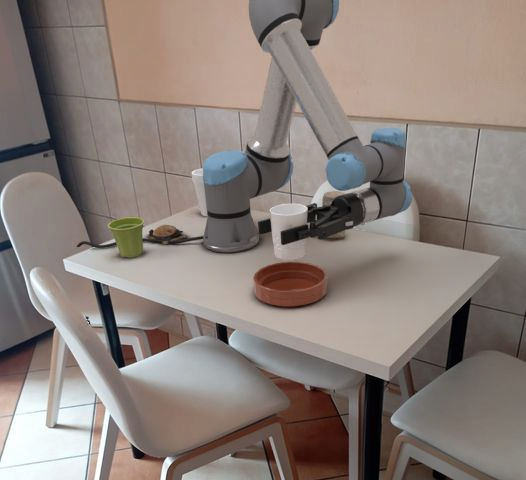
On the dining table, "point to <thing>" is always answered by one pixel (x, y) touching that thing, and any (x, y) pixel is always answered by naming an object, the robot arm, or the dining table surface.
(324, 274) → the bowl
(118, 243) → the plant pot
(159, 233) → the brown domed piece
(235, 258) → the dining table surface
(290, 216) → the white cup
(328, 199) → the carving
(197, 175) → the foam cup
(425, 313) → the dining table surface
